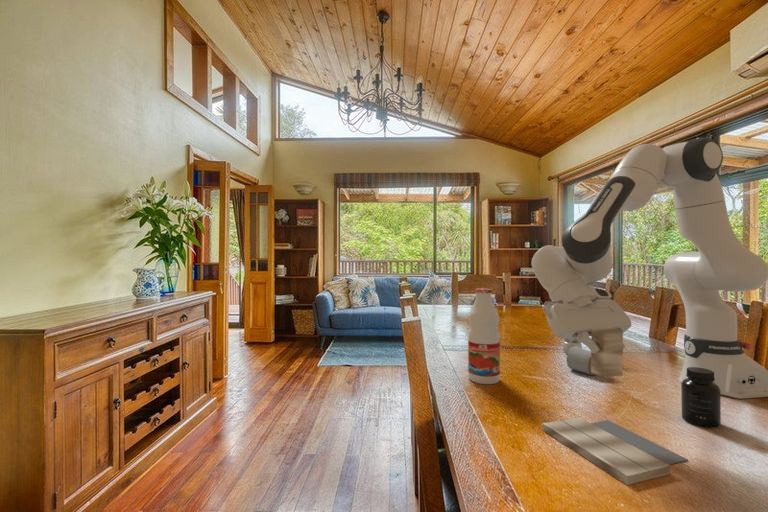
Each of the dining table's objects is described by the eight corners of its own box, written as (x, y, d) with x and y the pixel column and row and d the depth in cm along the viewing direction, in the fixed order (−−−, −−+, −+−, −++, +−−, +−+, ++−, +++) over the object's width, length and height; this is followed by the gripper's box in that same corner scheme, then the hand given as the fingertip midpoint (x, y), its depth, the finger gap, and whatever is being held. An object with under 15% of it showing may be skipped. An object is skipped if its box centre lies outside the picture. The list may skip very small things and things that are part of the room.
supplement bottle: (681, 412, 89) (681, 363, 89) (719, 421, 84) (719, 369, 84) (681, 423, 83) (681, 370, 83) (721, 432, 79) (722, 377, 79)
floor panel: (542, 430, 81) (542, 423, 81) (578, 423, 84) (578, 416, 84) (627, 485, 61) (627, 475, 61) (670, 474, 64) (670, 465, 64)
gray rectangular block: (591, 372, 82) (591, 328, 82) (608, 370, 83) (608, 326, 83) (604, 377, 79) (605, 331, 78) (622, 375, 80) (622, 329, 80)
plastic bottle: (558, 352, 142) (558, 301, 142) (572, 351, 144) (572, 300, 144) (571, 357, 136) (571, 303, 136) (586, 355, 138) (586, 302, 138)
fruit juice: (501, 376, 115) (501, 287, 115) (497, 386, 107) (497, 290, 106) (471, 372, 119) (471, 286, 119) (465, 382, 110) (465, 289, 110)
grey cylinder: (590, 378, 113) (590, 353, 113) (565, 370, 121) (565, 347, 121) (609, 373, 119) (609, 349, 119) (584, 366, 126) (585, 343, 126)
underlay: (584, 425, 83) (583, 424, 83) (607, 420, 85) (607, 420, 85) (660, 467, 66) (660, 466, 66) (688, 460, 69) (688, 459, 69)
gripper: (545, 293, 84) (580, 346, 75) (613, 290, 90) (653, 339, 81) (532, 310, 89) (563, 362, 79) (598, 306, 95) (634, 354, 85)
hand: (609, 350), depth 80 cm, fingers closed on gray rectangular block, 5 cm apart
